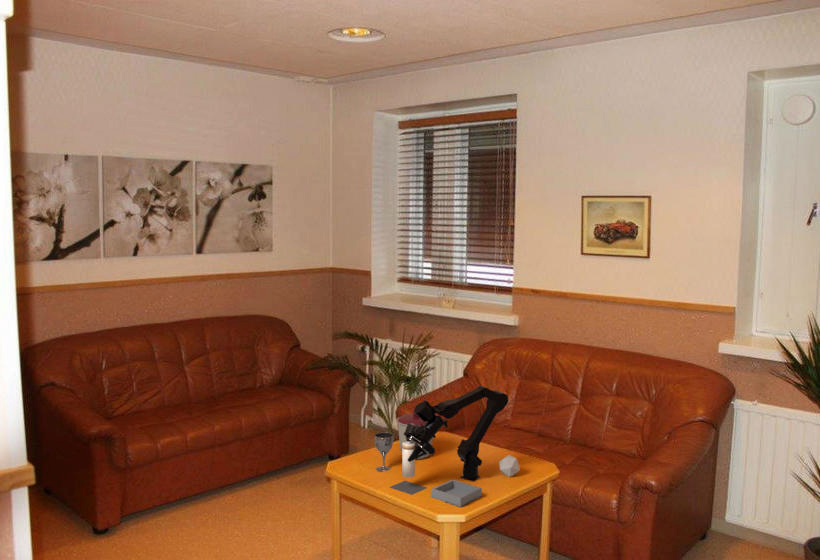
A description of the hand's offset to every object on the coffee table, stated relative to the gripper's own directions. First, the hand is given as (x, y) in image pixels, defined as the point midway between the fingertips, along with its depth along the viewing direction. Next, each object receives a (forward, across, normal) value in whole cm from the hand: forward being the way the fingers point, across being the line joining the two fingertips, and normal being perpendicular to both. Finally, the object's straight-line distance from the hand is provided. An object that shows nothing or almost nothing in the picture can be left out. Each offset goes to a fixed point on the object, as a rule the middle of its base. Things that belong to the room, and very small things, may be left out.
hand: (405, 459), depth 291 cm
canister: (-6, -35, +24) cm, 43 cm away
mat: (+8, 0, +10) cm, 12 cm away
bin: (-2, +16, +19) cm, 25 cm away
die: (-24, +3, +42) cm, 49 cm away
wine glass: (+8, -24, +10) cm, 27 cm away
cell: (+4, 0, +6) cm, 7 cm away
